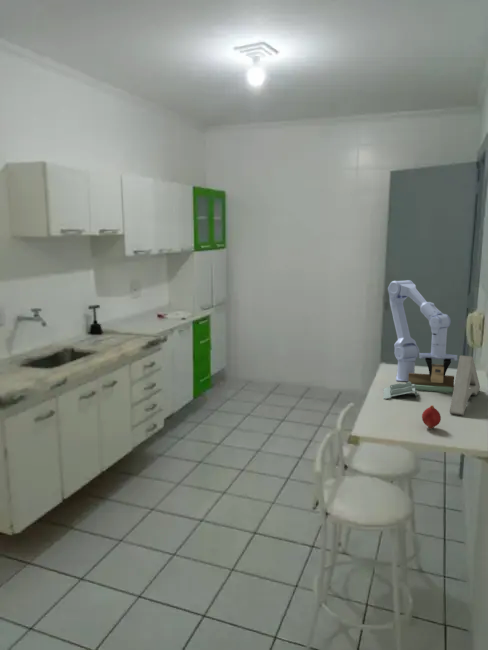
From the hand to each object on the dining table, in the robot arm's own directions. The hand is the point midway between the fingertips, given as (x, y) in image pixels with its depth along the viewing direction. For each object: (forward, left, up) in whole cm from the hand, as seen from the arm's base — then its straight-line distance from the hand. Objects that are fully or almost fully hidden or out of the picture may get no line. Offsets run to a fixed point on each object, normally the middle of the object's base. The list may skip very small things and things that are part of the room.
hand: (436, 376), depth 211 cm
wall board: (-4, -2, -6) cm, 7 cm away
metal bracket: (+12, -15, -6) cm, 20 cm away
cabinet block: (0, 0, -2) cm, 2 cm away
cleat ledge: (0, -2, -6) cm, 6 cm away
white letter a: (+15, +10, -6) cm, 19 cm away
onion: (+48, -5, -6) cm, 48 cm away
